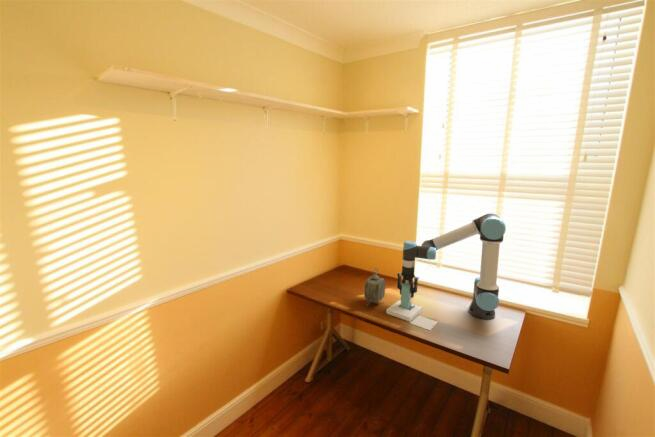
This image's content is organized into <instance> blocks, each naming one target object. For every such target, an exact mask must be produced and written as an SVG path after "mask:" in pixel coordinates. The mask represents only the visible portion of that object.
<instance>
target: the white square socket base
mask: <svg viewBox="0 0 655 437" xmlns="http://www.w3.org/2000/svg"><path fill="white" fill-rule="evenodd" d="M423 309H424V308H423V306H419V305H416V304H413V303H412V304H411V308H409V309H405V308H402V307H401V299H399V300H397V301H396V302H395V303H393V304H392V305H391V306H390V307H388V308H387V309H386V310H385V314H387V315H389V316H393V317H396V318H398V319H402V320H403V321H407V322H410V323H411V322H412V321H413V320H414V319H415V318H416V317H417V316H419V315H420V314H421V313H422V312H423Z"/></svg>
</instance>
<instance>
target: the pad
mask: <svg viewBox="0 0 655 437" xmlns="http://www.w3.org/2000/svg"><path fill="white" fill-rule="evenodd" d="M409 324H410V325H412V326H416V327H419V328H421V329H424V330H427V331H431V330H432V329H433V328H434V327H435V326H436V325H438V321H436V320H434V319H430V318H428V317H424V316H422V315H417V316H416V317H415V318H414V319H413V320H411V321H410V323H409Z"/></svg>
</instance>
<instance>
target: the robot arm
mask: <svg viewBox="0 0 655 437" xmlns="http://www.w3.org/2000/svg"><path fill="white" fill-rule="evenodd" d="M506 229H507V227H506V224H505V222H504V220H503V219H502V218H501V217H500V216H499V215H497V214H495V213H486V214H484V215H481V216H480V217H476V218H475V219H472V222H470V223H468V224H465V225H462V226H460V227H458V228H455V229H453V230H450V231H448V232H446V233H443V234H441V235H439V236H436V237H435V238H432V239H427V240H424V241H423V242H422V243H421V245H417V242H415V241H412V240H405V241H404V242H403V248H402V261H401V262H402V267H401V272H398V273H397V274H396V275H397V287H396V288H397V289H399V295H401V292H402V286H401V284H402V283H405V282H406V281H407V282H409V285H411V288H410V290H411V292H410V296H409V303H411V302H413V298H414V297H415V296H414V295H415V294H416V293H417V292H418V283H419V282H418V281H419V279H420V278H419V277H418V276H415V266H416V259H423V260H424V259H425V260H429V261H430V260H431V261H432V260H433V261H434V260H436V256H437V251H439V250H440V249H443V248H445V247H448V246H451V245H453V244H455V243H458V242H461V241H463V240H466V239H468V238H470V237H474V236H476V235H479V240H480V241H481V242H482V244H481V257H480V258H481V259H480V273H479V277H475V278H474V282H473V283H474V284H473V285H474V286H473V295H472V300H471V303H470V305H469V306H468V313H469V314H470V315H471V316H473V317H475V318H478V319H481V320H493V319H495V317H496V309H498V307H499V305H500V298H499V291H500V290H499V289H500V286H499V285H498V284H497V280H498V270H499V269H498V268H499V254H500V244H501V243H503V242H504V235H505V232H506Z"/></svg>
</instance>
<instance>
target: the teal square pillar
mask: <svg viewBox="0 0 655 437" xmlns="http://www.w3.org/2000/svg"><path fill="white" fill-rule="evenodd" d="M401 286H402V292H401V294H400V300H401V307H402V308H405V309H408V310H409V308H411V304H413V303H412V302H413V301H412V302H411V303H409V296H410V292H411V290H410V288H411V285H409V281H408V280H406V282H405V283H402V282H401Z"/></svg>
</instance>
